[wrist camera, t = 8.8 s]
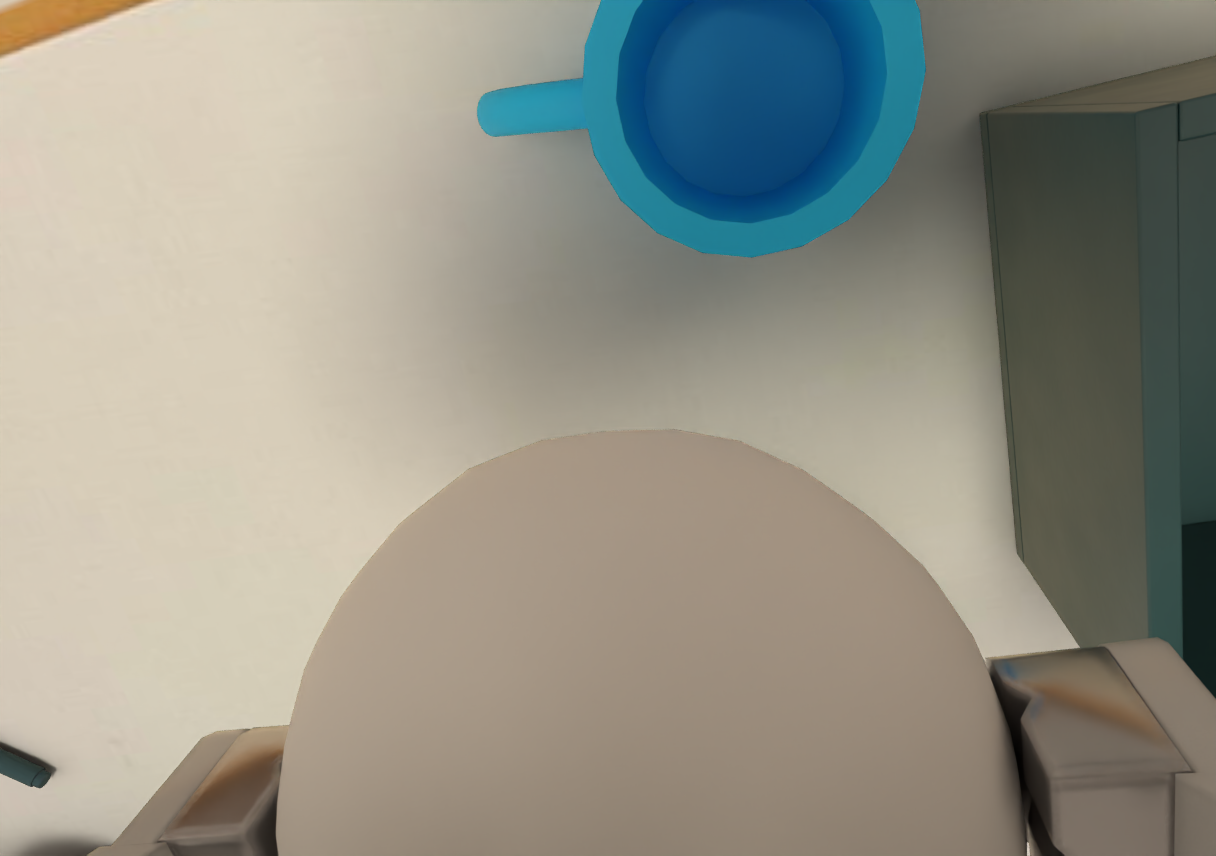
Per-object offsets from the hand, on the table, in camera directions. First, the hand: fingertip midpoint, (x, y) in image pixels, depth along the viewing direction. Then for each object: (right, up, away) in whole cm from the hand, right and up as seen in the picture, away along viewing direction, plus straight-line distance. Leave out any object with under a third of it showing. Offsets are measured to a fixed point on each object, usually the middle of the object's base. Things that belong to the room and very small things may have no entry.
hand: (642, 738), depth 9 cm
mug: (+2, +14, +19) cm, 24 cm away
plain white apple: (0, +1, +3) cm, 3 cm away
